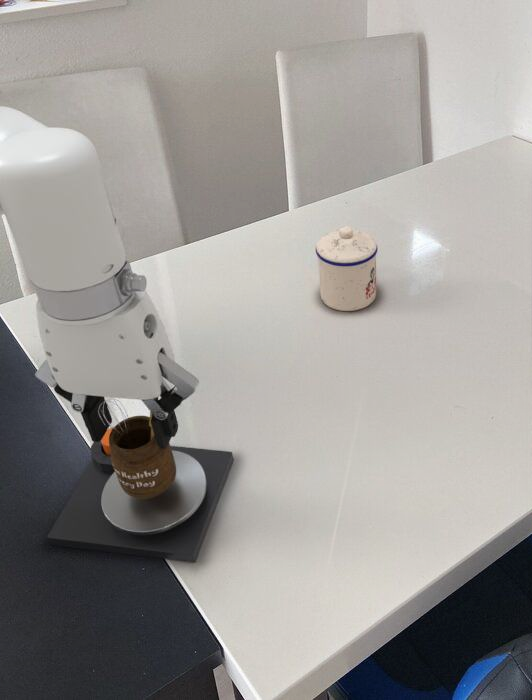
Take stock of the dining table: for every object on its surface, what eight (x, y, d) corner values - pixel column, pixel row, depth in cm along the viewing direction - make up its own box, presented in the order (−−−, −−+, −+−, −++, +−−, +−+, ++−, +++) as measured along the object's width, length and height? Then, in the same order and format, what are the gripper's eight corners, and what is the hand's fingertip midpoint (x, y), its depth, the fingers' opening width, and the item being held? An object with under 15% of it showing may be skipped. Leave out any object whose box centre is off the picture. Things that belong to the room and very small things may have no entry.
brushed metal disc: (84, 529, 70) (82, 525, 69) (127, 449, 78) (126, 445, 78) (187, 541, 68) (185, 537, 68) (219, 458, 76) (218, 454, 76)
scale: (50, 545, 72) (41, 528, 70) (110, 441, 83) (103, 423, 81) (195, 563, 70) (190, 546, 68) (236, 453, 81) (232, 436, 79)
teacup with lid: (380, 311, 102) (379, 244, 94) (319, 314, 102) (314, 247, 94) (374, 268, 111) (373, 203, 104) (318, 270, 111) (314, 206, 103)
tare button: (100, 455, 78) (96, 444, 77) (111, 436, 80) (107, 425, 79) (124, 457, 77) (121, 447, 76) (135, 438, 80) (131, 428, 79)
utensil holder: (134, 454, 74) (106, 372, 67) (188, 461, 74) (167, 379, 66) (110, 497, 70) (78, 415, 62) (168, 505, 69) (142, 422, 61)
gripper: (200, 266, 58) (230, 415, 69) (12, 254, 60) (71, 401, 71) (168, 319, 52) (207, 473, 63) (-38, 304, 54) (35, 454, 66)
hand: (134, 433), depth 67 cm, fingers closed on utensil holder, 6 cm apart
